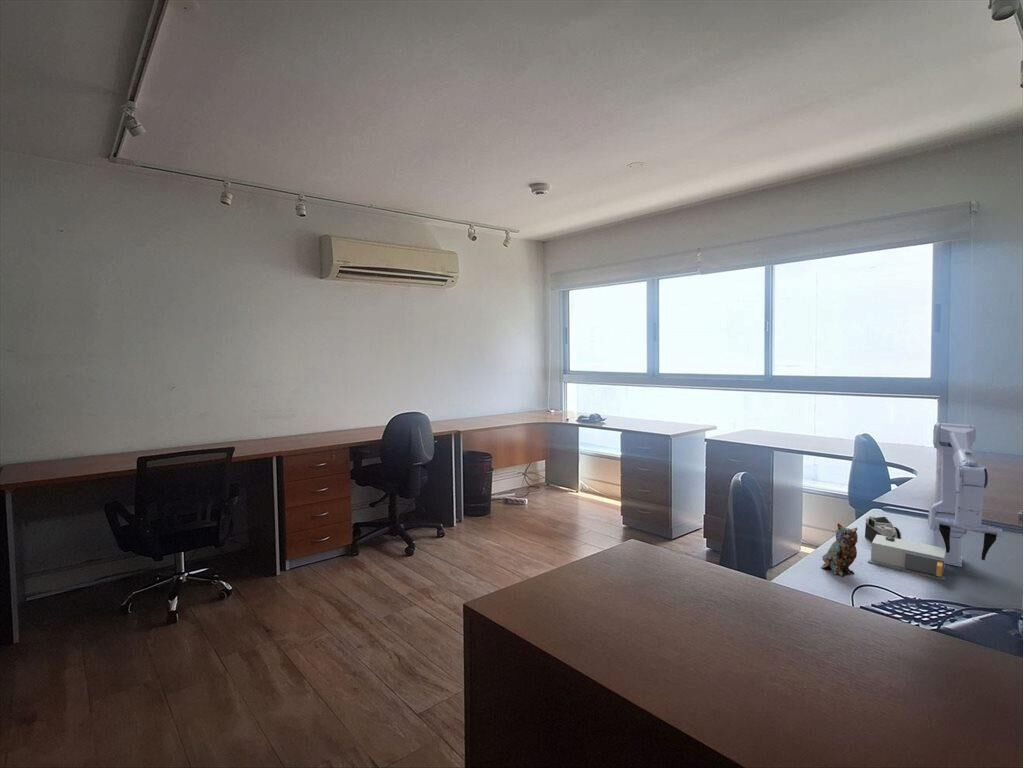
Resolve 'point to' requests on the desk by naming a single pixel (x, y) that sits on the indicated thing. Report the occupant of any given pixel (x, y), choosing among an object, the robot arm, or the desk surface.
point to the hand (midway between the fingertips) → (965, 555)
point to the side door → (924, 564)
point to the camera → (880, 528)
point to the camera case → (902, 553)
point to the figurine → (841, 552)
